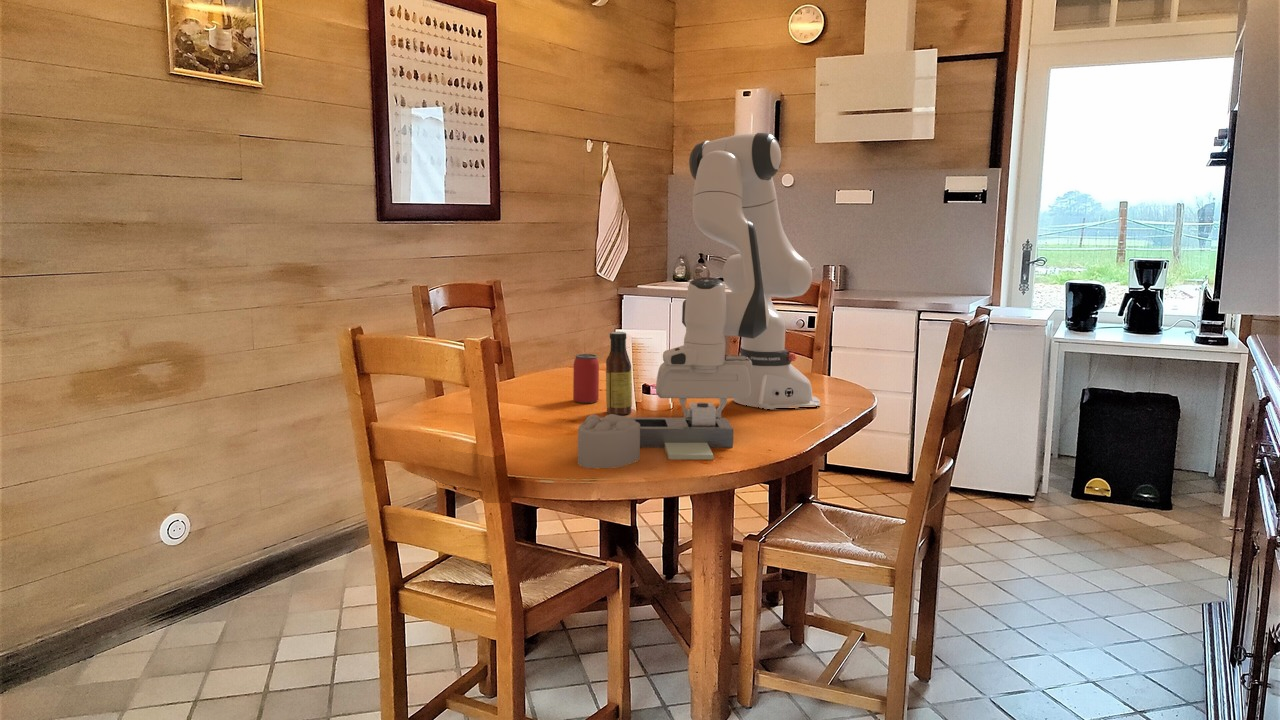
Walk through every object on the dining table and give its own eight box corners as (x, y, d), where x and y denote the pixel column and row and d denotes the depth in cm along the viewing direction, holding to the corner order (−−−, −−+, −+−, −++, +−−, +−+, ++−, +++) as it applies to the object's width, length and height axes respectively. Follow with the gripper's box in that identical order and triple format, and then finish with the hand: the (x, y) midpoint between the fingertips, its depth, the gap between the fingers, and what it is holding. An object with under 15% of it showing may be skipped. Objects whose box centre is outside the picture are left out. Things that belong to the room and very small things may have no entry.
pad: (706, 447, 180) (707, 442, 180) (713, 459, 171) (713, 454, 171) (664, 447, 180) (664, 442, 179) (668, 459, 171) (668, 454, 171)
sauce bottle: (636, 413, 210) (638, 333, 207) (619, 417, 206) (620, 335, 202) (617, 408, 214) (619, 330, 211) (600, 412, 210) (601, 332, 207)
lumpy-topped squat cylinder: (646, 458, 172) (647, 416, 170) (605, 473, 161) (606, 428, 160) (606, 449, 178) (606, 408, 176) (564, 462, 167) (564, 419, 166)
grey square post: (711, 438, 188) (712, 401, 186) (714, 444, 183) (715, 406, 181) (688, 438, 187) (689, 401, 186) (691, 444, 182) (692, 406, 181)
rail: (725, 435, 190) (725, 417, 190) (732, 447, 181) (733, 429, 180) (617, 435, 189) (617, 417, 188) (619, 447, 179) (619, 428, 178)
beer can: (600, 399, 225) (600, 354, 223) (596, 404, 219) (597, 358, 217) (575, 398, 226) (575, 353, 224) (571, 403, 219) (571, 357, 217)
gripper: (749, 352, 186) (747, 414, 188) (655, 352, 184) (654, 414, 187) (755, 357, 179) (752, 421, 182) (658, 356, 178) (656, 421, 180)
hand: (702, 418), depth 184 cm, fingers closed on grey square post, 5 cm apart
